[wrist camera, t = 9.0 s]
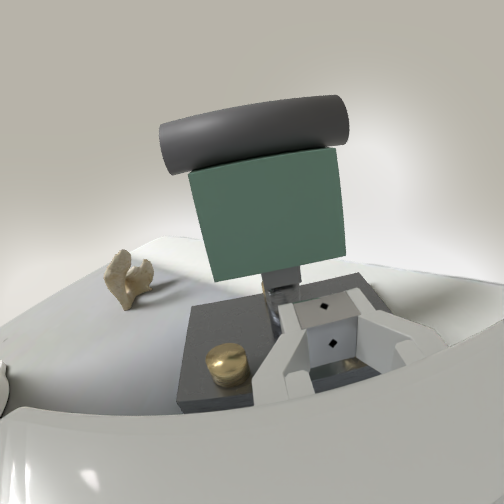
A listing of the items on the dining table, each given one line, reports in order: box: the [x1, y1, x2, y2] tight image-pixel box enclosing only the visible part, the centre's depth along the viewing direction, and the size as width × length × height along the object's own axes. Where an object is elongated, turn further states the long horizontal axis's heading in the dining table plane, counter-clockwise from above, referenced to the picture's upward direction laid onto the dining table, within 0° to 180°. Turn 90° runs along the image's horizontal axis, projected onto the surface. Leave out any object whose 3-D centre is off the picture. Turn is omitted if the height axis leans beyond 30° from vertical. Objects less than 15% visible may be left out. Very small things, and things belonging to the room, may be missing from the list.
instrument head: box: [159, 95, 349, 290], centre depth 22 cm, size 13×6×14 cm, turn 94°
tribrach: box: [176, 272, 392, 414], centre depth 26 cm, size 20×14×7 cm
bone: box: [104, 250, 154, 311], centre depth 40 cm, size 9×6×10 cm
